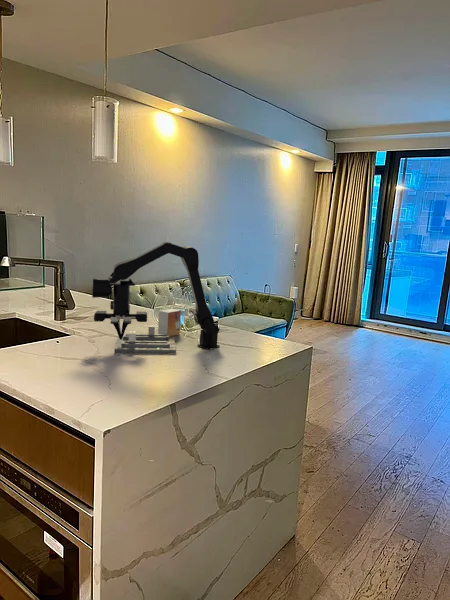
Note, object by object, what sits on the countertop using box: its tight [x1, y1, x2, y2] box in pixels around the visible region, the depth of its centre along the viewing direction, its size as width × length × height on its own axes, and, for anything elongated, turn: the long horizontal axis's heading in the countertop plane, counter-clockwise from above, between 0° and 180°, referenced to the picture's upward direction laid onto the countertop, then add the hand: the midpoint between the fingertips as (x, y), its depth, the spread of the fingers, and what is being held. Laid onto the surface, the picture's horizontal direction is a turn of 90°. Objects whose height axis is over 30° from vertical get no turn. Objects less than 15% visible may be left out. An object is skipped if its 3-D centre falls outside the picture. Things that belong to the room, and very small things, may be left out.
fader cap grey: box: [147, 324, 156, 336], centre depth 180 cm, size 2×3×5 cm
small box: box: [157, 308, 182, 337], centre depth 193 cm, size 8×6×10 cm
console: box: [113, 333, 177, 355], centre depth 174 cm, size 22×19×3 cm
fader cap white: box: [128, 330, 137, 343], centre depth 169 cm, size 2×4×5 cm, turn 9°
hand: (120, 339), depth 168 cm, fingers closed
